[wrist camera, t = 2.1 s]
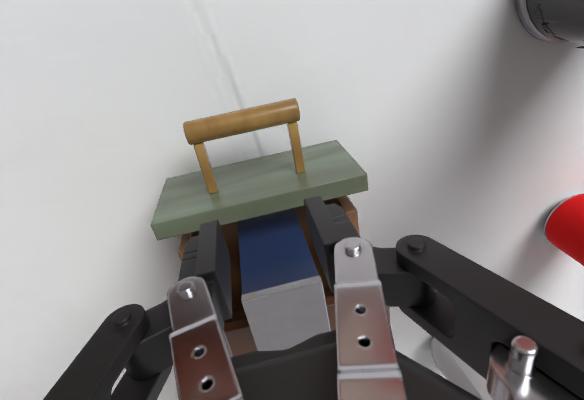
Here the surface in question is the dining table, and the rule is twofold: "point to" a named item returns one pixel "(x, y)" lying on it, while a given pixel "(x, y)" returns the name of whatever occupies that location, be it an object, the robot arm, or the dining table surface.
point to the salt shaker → (458, 371)
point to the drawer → (255, 185)
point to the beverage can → (568, 227)
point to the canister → (280, 282)
